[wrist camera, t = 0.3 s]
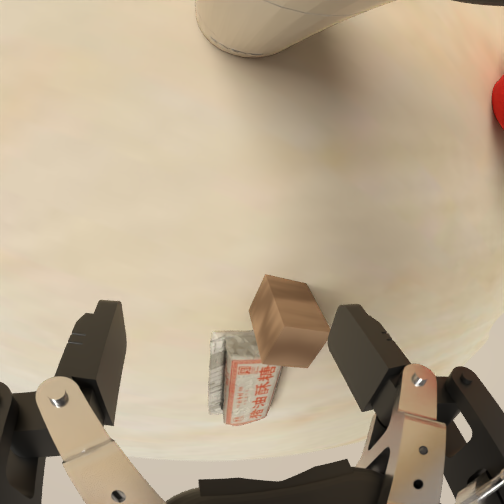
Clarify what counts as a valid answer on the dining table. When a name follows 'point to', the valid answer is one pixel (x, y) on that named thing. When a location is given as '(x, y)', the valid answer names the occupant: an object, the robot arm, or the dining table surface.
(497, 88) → the ceramic cup
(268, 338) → the walnut block
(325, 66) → the dining table surface
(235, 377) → the packaged product
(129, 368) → the dining table surface
